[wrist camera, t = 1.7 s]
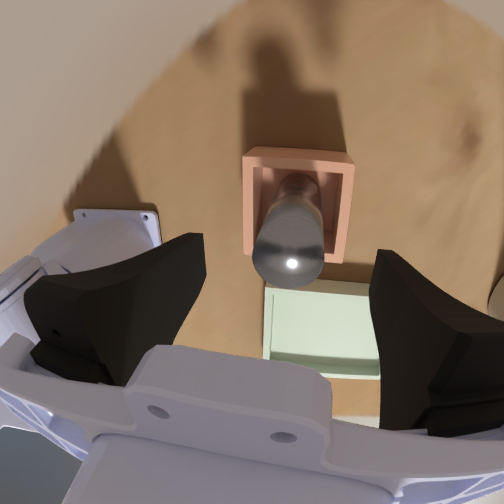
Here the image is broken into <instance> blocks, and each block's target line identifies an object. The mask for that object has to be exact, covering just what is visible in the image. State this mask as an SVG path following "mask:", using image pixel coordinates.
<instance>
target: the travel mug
mask: <svg viewBox="0 0 504 504" xmlns="http://www.w3.org/2000/svg"><path fill="white" fill-rule="evenodd" d="M488 315H489V316H491V317H493V318H496V319H499V320H502V321H504V276H503V277H502V278H501V280H500V281H499V282H498V284H497V285H496V287H495V289H494V291H493V293H492V295H491V298H490V301H489V305H488Z"/></svg>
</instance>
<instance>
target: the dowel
mask: <svg viewBox="0 0 504 504" xmlns="http://www.w3.org/2000/svg"><path fill="white" fill-rule="evenodd" d="M252 260H253V264H254V267H255V269H256V271H257V272H258V274H259V275H260V276H261V277H262V278H263V279H264V280H265V281H266V282H268V283H269V284H271V285H273V286H276V287H279V288H283V289H297V288H301V287H304V286H307V285H308V284H310V283H312V282H313V281H314V280H315V279H316V278H317V277H318V276H319V275H320V273H321V271H322V269H323V266H324V260H325V256H324V235H323V218H322V204H321V192H320V188H319V185H318V183H317V182H316V181H315V180H314V179H313V178H312V177H311V176H309V175H307V174H304V173H293V174H290V175H288V176H286V177H285V178H283V179H282V181H281V182H280V183H279V186H278V188H277V190H276V193H275V195H274V198H273V200H272V203H271V205H270V208H269V210H268V213H267V215H266V218H265V220H264V223H263V225H262V227H261V230H260V232H259V235H258V237H257V240H256V242H255V245H254V247H253V252H252Z"/></svg>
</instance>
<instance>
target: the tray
mask: <svg viewBox="0 0 504 504" xmlns="http://www.w3.org/2000/svg"><path fill="white" fill-rule="evenodd" d="M369 286H370V284H368V283H356V282H344V281H333V280H322V279H315V280H314V281H313V282H312V283H310V284H308V285H307V286H304V287H301V288H297V289H283V288H279V287H276V286H273V285H271V284H269V283H268V282H266V285H265V305H264V337H263V359H267V360H275V361H284V362H291V363H294V364H298V365H301V366H305V367H309V368H312V369H315V370H316V371H317V372H318V373H320V374H321V375H322V376H323V377H331V378H348V379H376V380H380V361H379V353H378V348H377V343H376V338H375V333H374V328H373V324H372V319H371V314H370V306H369V293H368V290H369Z"/></svg>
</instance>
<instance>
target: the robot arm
mask: <svg viewBox="0 0 504 504" xmlns="http://www.w3.org/2000/svg"><path fill="white" fill-rule="evenodd" d="M84 213H85V214H84ZM73 215H74V220H75V221H73V222H72V223H70V224H69V225H67V226H66V227H64V228H63V229H61V230H60V231H58V232H57V233H56V234H54V235H53V236H51V237H50V238H48V239H47V240H46V241H44V242H43V243H41V244H40V245H39V246H37V247H36V248H35V249H34V251H33V252H32V253H31V255H26V256H24V257H23V258H21V259H20V260H18V261H17V262H16V263H14V264H13V265H12V266H10V267H9V268H7V269H6V270H5V271H4V272H2V273H1V274H0V429H1V428H2V427H4V426H8V427H13V428H18V429H23V430H27V431H33V432H39V433H40V434H42V435H43V436H45V437H46V438H48V439H49V440H51V441H52V442H53V443H55V444H56V445H58V446H59V447H61V448H62V449H64V450H65V451H67V452H68V453H70V454H72V455H73V456H75V457H77V458H78V459H80V460H82V461H83V463H82V465H81V467H80V469H79V471H78V473H77V475H76V477H75V479H74V481H73V482H72V485H71V486H70V488H69V490H68V492H67V494H66V496H65V498H64V500H63V502H62V504H463V503H466V502H468V501H472V500H475V499H477V498H480V497H483V496H486V495H488V494H491V493H494V492H497V491H499V490H502V489H504V321H502V320H499V319H496V318H493V317H491V316H489V315H486V314H484V313H482V312H479V311H477V310H475V309H473V308H471V307H469V306H468V305H466V304H464V303H462V302H460V301H458V300H457V299H455V298H453V297H452V296H450V295H449V294H447V293H446V292H444V291H443V290H441V289H440V288H439V287H437V286H436V285H435V284H433V283H432V282H431V281H429V280H428V279H427V278H426V277H424V276H423V275H422V274H421V273H419V272H418V271H417V270H416V269H415V268H414V267H412V266H411V265H410V264H409V263H408V262H407V261H405V260H404V259H403V258H402V257H401V256H399V255H398V254H397V253H395V252H394V251H392V250H384V249H378V251H377V256H376V261H375V265H374V270H373V274H372V278H371V282H370V286H369V290H368V293H369V306H370V314H371V319H372V324H373V328H374V333H375V338H376V343H377V348H378V353H379V361H380V381H381V403H380V423H379V428H374V427H369V426H364V425H359V424H354V423H349V422H345V421H341V420H337V419H333V418H332V389H331V382H329V381H328V380H327V379H326V378H325V377H323V376H322V375H321V374H320V373H318V372H317V371H316V370H315V369H312V368H309V367H305V366H301V365H298V364H294V363H291V362H284V361H275V360H267V359H259V358H252V357H245V356H238V355H232V354H226V353H220V352H214V351H208V350H203V349H197V348H192V347H187V346H182V345H172V344H173V341H174V339H175V337H176V335H177V333H178V331H179V329H180V327H181V325H182V324H183V322H184V320H185V318H186V317H187V315H188V313H189V311H190V310H191V308H192V306H193V304H194V303H195V301H196V299H197V297H198V295H199V294H200V291H201V289H202V286H203V284H204V281H205V278H206V275H207V274H206V264H205V252H204V240H203V234H202V233H186V234H183V235H181V236H178V237H176V238H174V239H172V240H170V241H168V242H166V243H163V244H162V242H161V236H160V229H159V221H158V215H157V214H156V212H154V211H144V210H113V209H76V210H74V212H73ZM85 215H86V216H85ZM145 215H147V216H148V219H147V218H146V217H145Z"/></svg>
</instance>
